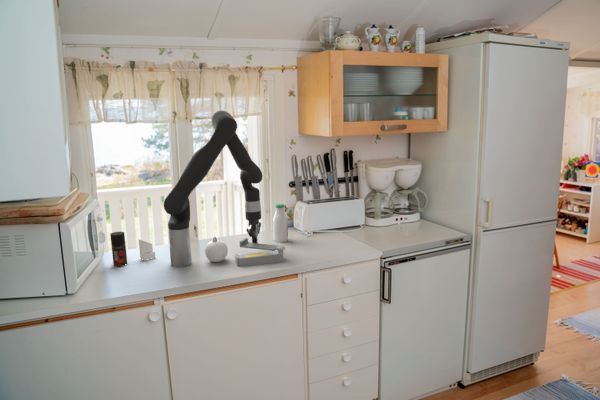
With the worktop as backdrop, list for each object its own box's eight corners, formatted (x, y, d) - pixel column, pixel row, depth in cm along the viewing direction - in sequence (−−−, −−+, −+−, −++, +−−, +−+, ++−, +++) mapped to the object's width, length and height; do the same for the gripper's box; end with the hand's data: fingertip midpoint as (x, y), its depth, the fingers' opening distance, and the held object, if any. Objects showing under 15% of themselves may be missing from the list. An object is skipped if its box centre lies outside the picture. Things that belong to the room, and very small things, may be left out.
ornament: (210, 266, 204) (209, 241, 202) (202, 260, 213) (201, 235, 210) (231, 262, 210) (230, 237, 207) (222, 256, 218) (221, 232, 216)
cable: (245, 264, 205) (245, 258, 205) (244, 261, 209) (244, 255, 208) (271, 261, 209) (271, 255, 208) (269, 259, 212) (269, 252, 211)
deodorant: (128, 262, 212) (125, 231, 209) (126, 266, 207) (122, 234, 204) (115, 263, 211) (111, 232, 208) (112, 267, 206) (108, 235, 203)
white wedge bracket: (131, 256, 212) (138, 239, 214) (149, 262, 220) (156, 245, 221) (135, 258, 210) (142, 240, 212) (153, 263, 217) (160, 246, 219)
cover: (282, 251, 208) (281, 246, 208) (239, 247, 216) (239, 241, 216) (287, 248, 214) (287, 242, 213) (245, 243, 222) (245, 238, 221)
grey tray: (237, 267, 203) (237, 257, 202) (232, 256, 218) (232, 247, 217) (285, 261, 209) (285, 252, 208) (277, 251, 224) (277, 242, 223)
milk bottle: (286, 243, 237) (285, 206, 233) (271, 242, 239) (270, 205, 235) (289, 239, 245) (288, 202, 241) (275, 238, 246) (274, 202, 242)
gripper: (254, 213, 210) (256, 248, 214) (265, 206, 223) (267, 240, 226) (240, 212, 213) (242, 247, 216) (251, 206, 225) (253, 239, 229)
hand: (254, 243), depth 221 cm, fingers closed
